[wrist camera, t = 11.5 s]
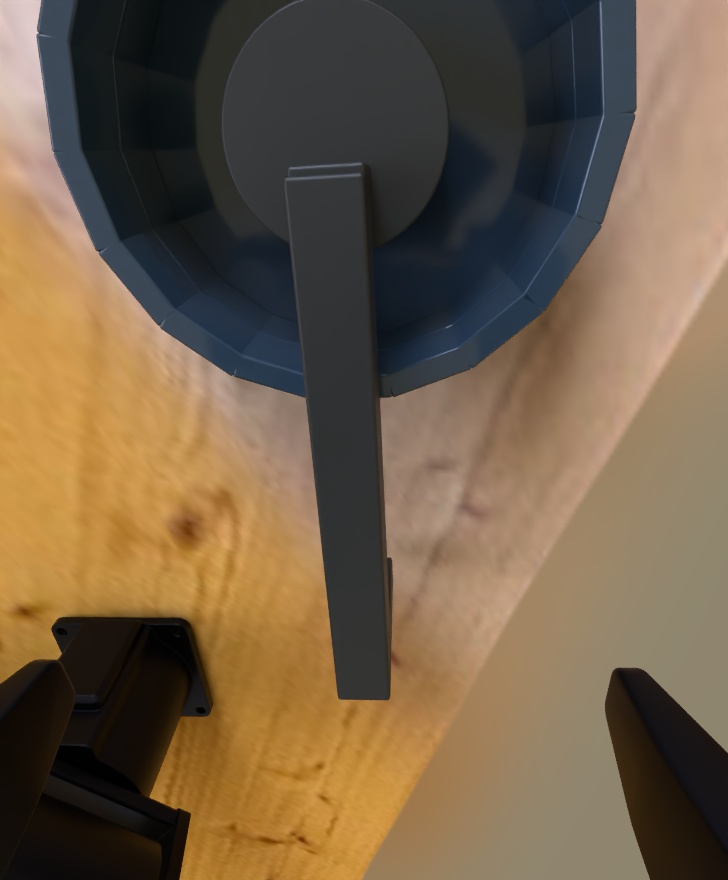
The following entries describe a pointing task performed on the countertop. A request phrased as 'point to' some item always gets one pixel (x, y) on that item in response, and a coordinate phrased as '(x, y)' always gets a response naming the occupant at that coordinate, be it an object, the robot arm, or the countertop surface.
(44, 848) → the robot arm
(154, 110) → the bowl
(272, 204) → the dark grey handle
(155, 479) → the countertop surface
